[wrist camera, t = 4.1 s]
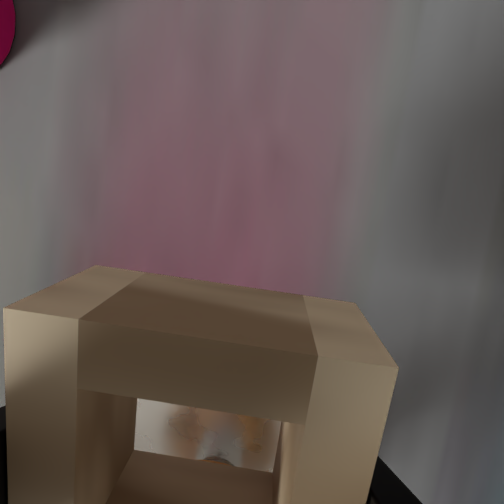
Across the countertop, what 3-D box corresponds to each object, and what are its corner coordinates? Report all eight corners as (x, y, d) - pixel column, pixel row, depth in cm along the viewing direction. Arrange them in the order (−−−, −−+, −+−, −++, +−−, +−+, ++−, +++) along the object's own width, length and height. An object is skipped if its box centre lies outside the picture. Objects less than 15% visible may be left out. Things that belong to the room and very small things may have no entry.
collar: (310, 517, 10) (326, 663, 7) (88, 479, 10) (10, 603, 7) (355, 302, 8) (398, 367, 5) (95, 265, 9) (3, 308, 6)
